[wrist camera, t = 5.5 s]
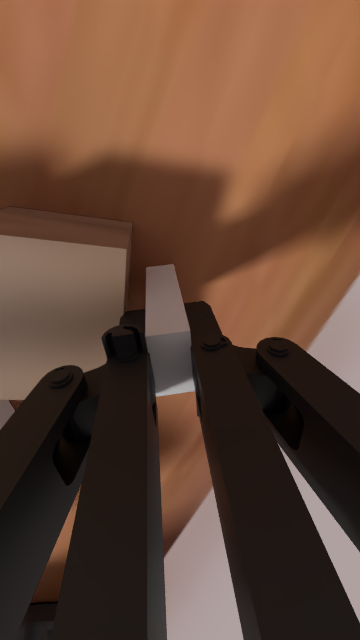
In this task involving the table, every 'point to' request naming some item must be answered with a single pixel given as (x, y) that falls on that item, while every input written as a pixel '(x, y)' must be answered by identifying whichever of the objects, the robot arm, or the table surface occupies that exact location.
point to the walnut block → (58, 292)
